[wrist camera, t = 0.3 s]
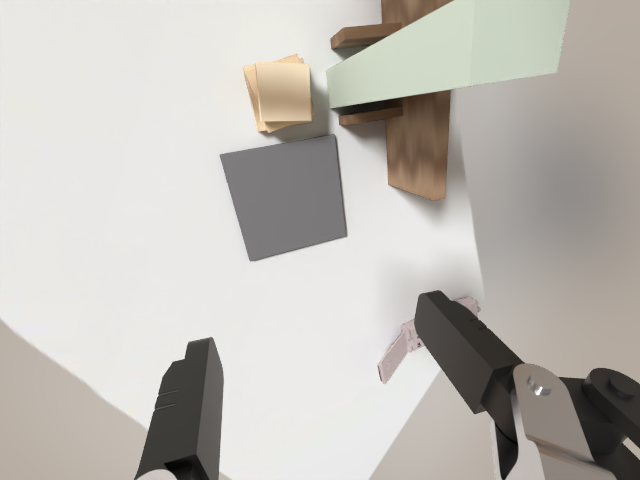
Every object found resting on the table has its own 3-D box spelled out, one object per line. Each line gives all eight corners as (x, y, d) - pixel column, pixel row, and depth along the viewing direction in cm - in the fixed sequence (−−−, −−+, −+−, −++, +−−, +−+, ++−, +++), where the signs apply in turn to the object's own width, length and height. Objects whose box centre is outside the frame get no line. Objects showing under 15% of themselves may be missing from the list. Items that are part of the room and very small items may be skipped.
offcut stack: (241, 66, 30) (243, 56, 26) (300, 58, 31) (310, 48, 27) (257, 133, 33) (261, 134, 29) (310, 124, 34) (321, 123, 30)
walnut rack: (325, -7, 29) (368, -63, 21) (392, -11, 31) (458, -65, 22) (346, 193, 39) (382, 214, 30) (397, 182, 40) (445, 198, 32)
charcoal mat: (219, 154, 32) (219, 155, 32) (332, 134, 35) (334, 134, 35) (249, 259, 38) (249, 261, 37) (344, 234, 41) (345, 236, 40)
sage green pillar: (325, 70, 32) (476, -12, 13) (372, 64, 33) (573, -19, 14) (329, 108, 34) (468, 86, 14) (374, 101, 35) (556, 72, 16)
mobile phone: (377, 363, 45) (502, 305, 49) (362, 338, 51) (476, 287, 55) (382, 386, 48) (500, 329, 52) (367, 360, 53) (476, 310, 57)
